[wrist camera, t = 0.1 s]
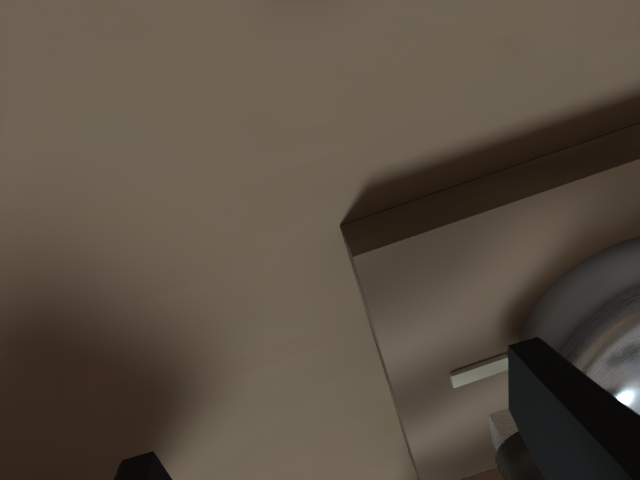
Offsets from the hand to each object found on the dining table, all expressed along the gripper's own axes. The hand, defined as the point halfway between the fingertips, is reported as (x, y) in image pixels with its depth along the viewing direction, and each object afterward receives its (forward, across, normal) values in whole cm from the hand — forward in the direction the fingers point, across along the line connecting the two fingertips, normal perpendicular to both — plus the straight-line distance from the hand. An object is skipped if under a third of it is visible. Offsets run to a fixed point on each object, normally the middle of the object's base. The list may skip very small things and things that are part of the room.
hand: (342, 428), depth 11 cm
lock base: (+10, -12, +10) cm, 19 cm away
